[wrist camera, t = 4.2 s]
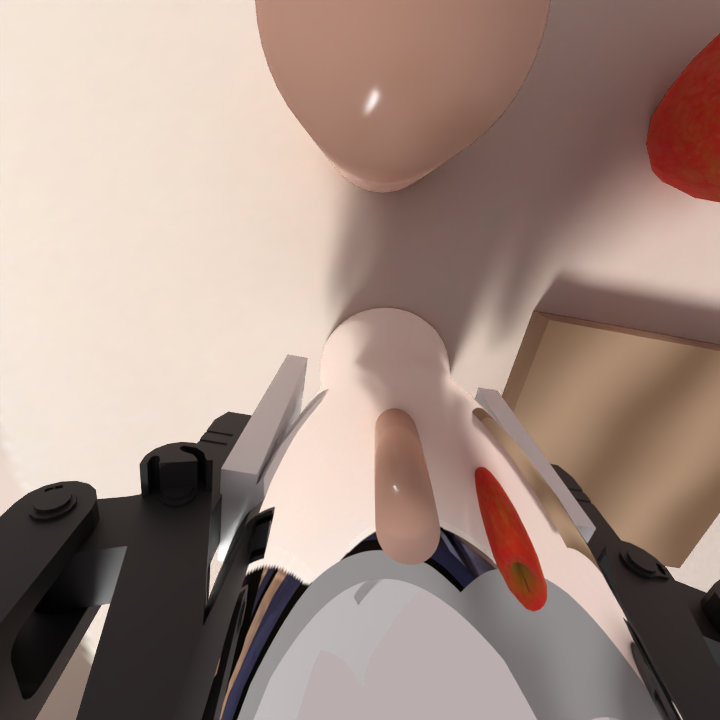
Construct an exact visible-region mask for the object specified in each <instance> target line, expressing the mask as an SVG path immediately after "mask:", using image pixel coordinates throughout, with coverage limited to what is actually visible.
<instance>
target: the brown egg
mask: <svg viewBox="0 0 720 720" xmlns="http://www.w3.org/2000/svg"><path fill="white" fill-rule="evenodd" d="M255 4H256V14H257V24H258V29H259V33H260V38H261V43H262V48H263V51H264V54H265V57H266V60H267V64H268V67H269V69H270V72H271V74H272V76H273V79H274V81H275V83H276V86H277V88H278V90H279V91H280V93H281V95H282V97H283V98H284V100H285V102H286V104H287V105H288V107H289V108H290V110H291V111H292V112H293V114H294V115H295V117H296V118H297V119H298V121H299V122H300V123H301V125H302V126H303V127H304V128H305V130H306V131H307V132H308V134H309V135H310V136H311V138H312V139H313V140H314V141H315V143H316V144H317V145H318V147H319V148H320V149H321V151H322V152H323V153H324V154H325V156H326V157H327V158H328V160H329V161H330V162H331V163H332V165H333V166H334V167H335V169H336V170H337V171H338V172H339V173H340V174H341V175H342V176H343V177H344V178H345V179H347V180H348V181H349V182H351V183H352V184H354V185H356V186H357V187H360V188H362V189H365V190H368V191H372V192H392V191H397V190H400V189H404V188H406V187H408V186H410V185H412V184H414V183H415V182H417V181H418V180H420V179H421V178H423V177H424V176H426V175H427V174H429V173H430V172H431V171H433V170H434V169H436V168H437V167H439V166H440V165H442V164H443V163H444V162H446V161H447V160H449V159H450V158H452V157H453V156H455V155H456V154H458V153H459V152H460V151H462V150H463V149H465V148H466V147H468V146H469V145H471V144H472V143H473V142H474V141H476V140H477V139H478V138H479V137H480V136H482V135H483V134H484V133H485V132H486V131H487V130H488V129H489V128H490V127H491V126H492V125H493V124H494V123H495V122H496V121H497V120H498V119H499V118H500V117H501V115H502V114H503V113H504V111H505V110H506V109H507V107H508V106H509V105H510V103H511V102H512V101H513V99H514V98H515V96H516V94H517V93H518V91H519V89H520V88H521V86H522V84H523V83H524V81H525V79H526V77H527V75H528V73H529V71H530V68H531V66H532V64H533V62H534V60H535V57H536V54H537V51H538V49H539V46H540V43H541V40H542V37H543V33H544V29H545V25H546V21H547V17H548V12H549V6H550V0H255Z"/></svg>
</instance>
